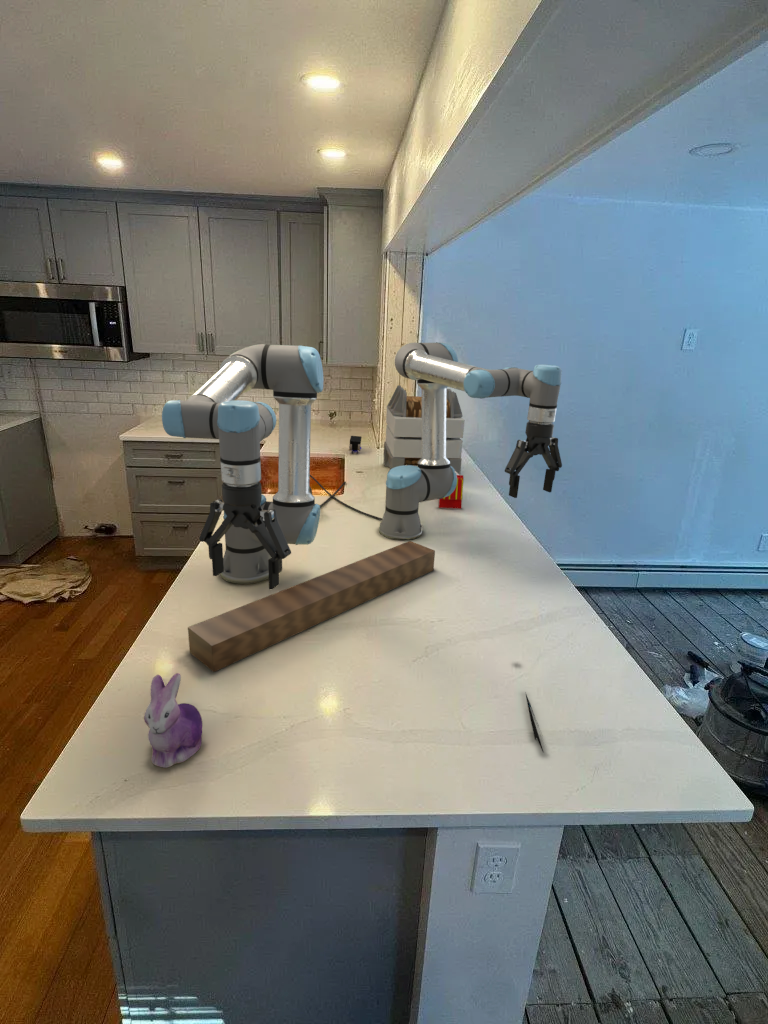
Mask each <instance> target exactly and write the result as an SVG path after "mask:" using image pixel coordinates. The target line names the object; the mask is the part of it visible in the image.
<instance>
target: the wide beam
mask: <svg viewBox="0 0 768 1024" xmlns="http://www.w3.org/2000/svg"><path fill="white" fill-rule="evenodd" d="M435 556H436V550H435V549H432V548H429V547H427V546H424V545H422V544H419V543H417V542H414V541H412V540H407V541H406V542H404V543H401V544H398V545H396V546H393V547H390V548H388V549H386V550H383V551H380V552H378V553H375V554H372V555H370V556H367V557H364V558H362V559H359V560H357V561H354V562H351V563H350V564H346V565H344V566H342V567H339V568H337V569H333V570H331V571H329V572H326V573H324V574H323V573H322V574H321V575H319V576H316V577H313V578H310V579H308V580H306V581H303V582H300V583H298V584H296V585H292V586H290V587H287V588H285V589H283V590H279V591H277V592H275V593H273V594H269V595H267V596H264V597H262V598H259V599H257V600H254V601H252V602H249V603H247V604H243V605H241V606H239V607H236V608H234V609H231V610H228V611H226V612H223V613H220V614H218V615H215V616H213V617H211V618H208V619H205V620H203V621H199V622H198V623H195V624H192V625H190V626H187V635H188V636H187V637H188V645H189V646H188V648H189V653H190V654H191V655H192V656H193V657H194V658H196V659H197V660H198V661H200V662H201V663H202V664H203V665H204V666H205V667H207V668H208V669H209V670H210V671H211V672H213V673H215V672H218V671H219V670H221V669H224V668H226V667H229V666H230V665H232V664H234V663H237V662H240V661H242V660H243V659H245V658H247V657H249V656H251V655H254V654H256V653H258V652H261V651H263V650H265V649H267V648H269V647H271V646H273V645H276V644H278V643H280V642H282V641H285V640H287V639H288V638H291V637H293V636H295V635H297V634H300V633H301V632H304V631H306V630H307V629H310V628H312V627H314V626H317V625H318V624H321V623H323V622H325V621H327V620H330V619H332V618H333V617H336V616H338V615H340V614H342V613H344V612H347V611H349V610H351V609H353V608H356V607H358V606H359V605H362V604H364V603H366V602H368V601H370V600H372V599H375V598H377V597H380V596H381V595H383V594H386V593H387V592H388V593H389V592H390V591H392V590H394V589H396V588H398V587H401V586H403V585H405V584H407V583H409V582H411V581H413V580H416V579H418V578H420V577H422V576H425V575H426V574H428V573H431V572H433V571H434V568H435V558H436V557H435Z"/></svg>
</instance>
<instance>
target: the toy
mask: <svg viewBox="0 0 768 1024" xmlns="http://www.w3.org/2000/svg"><path fill="white" fill-rule="evenodd" d="M455 473H456V475H457V484H456V488H455V490H454V491H453V493H451V495H449V496H447V497H444V498H442V499H438V509H459V510H460V509H462V507H463V493H464V492H463V491H464V480H465V479H464V475H462V474H460V475H459V474H458V473H457V472H456V471H455Z"/></svg>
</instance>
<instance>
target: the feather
mask: <svg viewBox="0 0 768 1024" xmlns="http://www.w3.org/2000/svg"><path fill="white" fill-rule="evenodd" d="M525 697H526V698H525V699H526V703H527V708H528V714H529V719H530V723H531V728H532V733H533V738H534V740H537V742H538V744H539V746H540V749H541V751H542V753H545V751H544V749H543V746H542V741H541V739H543V737H544V736H543V734H541V735H542V736H539V733H542V730H541V729H539V731H538V728H539V727H540V725H539V723H538V721H537V719H536V716H535V713H534V711H533V708H532V705H531V703H530V700H529V697H528V694H527V692H526V691H525ZM536 725H537V726H536ZM540 737H541V739H540ZM544 744H545V743H544ZM544 746H547V745H546V744H545V745H544Z"/></svg>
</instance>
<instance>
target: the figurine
mask: <svg viewBox="0 0 768 1024" xmlns="http://www.w3.org/2000/svg"><path fill="white" fill-rule="evenodd" d="M181 678H182V676H181V673H180V672H176V673H175V674H173V675H172V677H171V678H170V679H169V681H168V682H167V683H166V684H165V682H164V679H163V677H162V676H161V674H156V675H155V676H154V677H153V678H152V680H151V683H150V701H149V703H148V705H147V708H146V709H145V712H144V716H143V720H144V724H146V726H148V728H149V729H148V733H147V738H148V739H147V740H148V742H149V744H150V746H151V749H152V754H151V764H152V765H155V766H157V767H160V768H170V767H172V766H174V765H175V764H180V763H184V762H185V761H187V760H188V759H190V758H191V757H193V756H194V755H195V754H196V753H197V752H198V751H199V750H200V748H201V747H202V740H203V739H202V737H203V719H202V715H201V713H200V711H199V709H198V708H197V707H196V706H195V705H193V704H191V703H186V702H183V703H178V701H177V695H178V692H179V688H180V686H181V680H182V679H181Z"/></svg>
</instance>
